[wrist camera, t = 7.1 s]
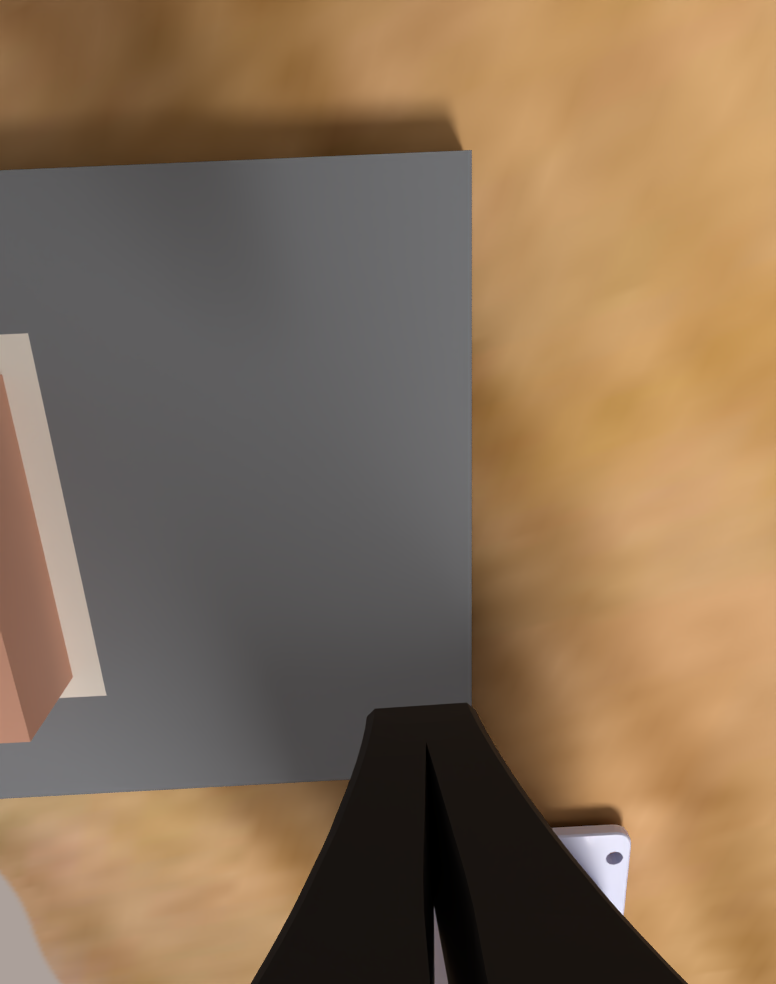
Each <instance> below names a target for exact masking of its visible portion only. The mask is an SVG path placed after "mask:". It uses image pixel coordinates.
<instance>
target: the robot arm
mask: <svg viewBox="0 0 776 984" xmlns="http://www.w3.org/2000/svg"><path fill="white" fill-rule="evenodd" d="M630 849H631V840H630V837H629V835H628V833H627V831H626V829H625V828H624V827H622V826H620V825H614V824H610V825H593V826H575V827H557V828H551V827H550V826H549V824H548V823H547V821H546V820H545V819H544V817H543V816H542V815H541V813H540V812H539V811H538V809H537V808H536V806H535V805H534V804H533V802H532V801H531V800H530V798H529V797H528V795H527V794H526V793H525V791H524V790H523V788H522V787H521V785H520V784H519V783H518V781H517V780H516V778H515V777H514V775H513V774H512V772H511V771H510V769H509V767H508V766H507V764H506V763H505V761H504V760H503V758H502V757H501V755H500V754H499V752H498V750H497V749H496V747H495V745H494V744H493V742H492V740H491V739H490V737H489V735H488V733H487V732H486V730H485V728H484V726H483V724H482V722H481V721H480V719H479V717H478V715H477V712H476V710H475V709H474V708H473V707H472V706H470V705H469V704H468V703H467V702H466V703H451V704H436V705H421V706H406V707H391V708H377V709H374V710H373V711H372V712H371V713H370V714H369V715H368V716H367V718H366V725H365V731H364V735H363V739H362V744H361V747H360V751H359V754H358V757H357V761H356V764H355V767H354V770H353V772H352V775H351V778H350V781H349V784H348V787H347V789H346V792H345V794H344V797H343V799H342V802H341V804H340V807H339V809H338V812H337V814H336V817H335V819H334V822H333V824H332V827H331V829H330V832H329V834H328V836H327V839H326V841H325V843H324V845H323V847H322V850H321V852H320V854H319V856H318V858H317V860H316V862H315V864H314V866H313V868H312V870H311V872H310V874H309V877H308V879H307V881H306V883H305V885H304V887H303V889H302V891H301V893H300V895H299V897H298V899H297V901H296V903H295V905H294V907H293V909H292V911H291V913H290V915H289V917H288V919H287V920H286V922H285V924H284V926H283V928H282V930H281V932H280V934H279V935H278V937H277V939H276V941H275V943H274V944H273V946H272V948H271V950H270V952H269V953H268V955H267V957H266V958H265V960H264V962H263V964H262V965H261V967H260V969H259V970H258V972H257V974H256V976H255V977H254V979H253V981H252V982H251V984H688V983H687V982H686V981H685V980H684V979H683V978H682V977H681V976H680V975H679V974H678V973H677V972H676V971H675V970H674V969H673V968H672V967H671V966H670V965H669V964H668V963H667V962H666V961H665V960H664V959H663V958H662V957H661V956H660V955H659V954H658V952H657V951H656V950H655V949H654V948H653V947H652V946H651V945H650V944H649V943H648V942H647V941H646V940H645V939H644V938H643V937H642V936H641V934H640V933H639V932H638V931H637V930H636V929H635V928H634V927H633V926H632V925H631V924H630V922H629V921H628V920H627V919H626V918H625V917H624V907H625V897H626V888H627V878H628V869H629V859H630ZM612 852H615V853H612ZM610 853H612V854H610Z"/></svg>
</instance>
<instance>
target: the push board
mask: <svg viewBox="0 0 776 984" xmlns="http://www.w3.org/2000/svg"><path fill="white" fill-rule="evenodd" d="M1 374H2V376H3V380H4V384H5V389H6V393H7V397H8V401H9V406H10V410H11V414H12V419H13V423H14V427H15V431H16V436H17V440H18V444H19V448H20V453H21V457H22V461H23V466H24V470H25V474H26V478H27V483H28V487H29V491H30V495H31V500H32V504H33V508H34V513H35V517H36V521H37V525H38V530H39V534H40V538H41V542H42V547H43V551H44V555H45V560H46V564H47V568H48V572H49V577H50V581H51V585H52V589H53V594H54V598H55V602H56V607H57V611H58V615H59V619H60V624H61V628H62V632H63V636H64V641H65V645H66V649H67V654H68V658H69V662H70V666H71V671H72V675H73V678H72V679H71V681H70V682H69V684H68V685H67V687H66V689H65V690H64V692H63V693H62V695H61V696H60V698H59V699H58V701H57V702H56V704H55V705H54V707H53V708H52V710H51V711H50V713H49V714H48V716H47V717H46V719H45V720H44V722H43V724H42V725H41V727H40V728H39V730H38V731H37V733H36V734H35V736H34V737H33V739H32V740H31V742H18V743H0V799H4V798H22V797H41V796H59V795H77V794H95V793H113V792H131V791H149V790H168V789H186V788H204V787H222V786H240V785H258V784H276V783H295V782H313V781H331V780H349V779H350V778H351V775H352V772H353V770H354V767H355V764H356V761H357V757H358V754H359V751H360V747H361V744H362V739H363V735H364V731H365V725H366V718H367V716H368V715H369V714H370V713H371V712H372V711H373V710H374V709H377V708H391V707H406V706H421V705H436V704H451V703H466V702H467V703H468V704H469V705H470V706H472V150H465V151H441V152H418V153H395V154H371V155H348V156H324V157H301V158H278V159H254V160H231V161H208V162H184V163H161V164H137V165H114V166H91V167H67V168H44V169H20V170H0V375H1Z"/></svg>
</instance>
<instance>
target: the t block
mask: <svg viewBox="0 0 776 984" xmlns="http://www.w3.org/2000/svg"><path fill="white" fill-rule="evenodd" d="M72 678H73V675H72V671H71V666H70V662H69V658H68V654H67V649H66V645H65V641H64V636H63V632H62V628H61V624H60V619H59V615H58V611H57V607H56V602H55V598H54V594H53V589H52V585H51V581H50V577H49V572H48V568H47V564H46V560H45V555H44V551H43V547H42V542H41V538H40V534H39V530H38V525H37V521H36V517H35V513H34V508H33V504H32V500H31V495H30V491H29V487H28V483H27V478H26V474H25V470H24V466H23V461H22V457H21V453H20V448H19V444H18V440H17V436H16V431H15V427H14V423H13V419H12V414H11V410H10V406H9V401H8V397H7V393H6V389H5V384H4V380H3V376H2V374H1V375H0V743H18V742H31V740H32V739H33V737H34V736H35V734H36V733H37V731H38V730H39V728H40V727H41V725H42V724H43V722H44V720H45V719H46V717H47V716H48V714H49V713H50V711H51V710H52V708H53V707H54V705H55V704H56V702H57V701H58V699H59V698H60V696H61V695H62V693H63V692H64V690H65V689H66V687H67V685H68V684H69V682H70V681H71V679H72Z"/></svg>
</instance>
